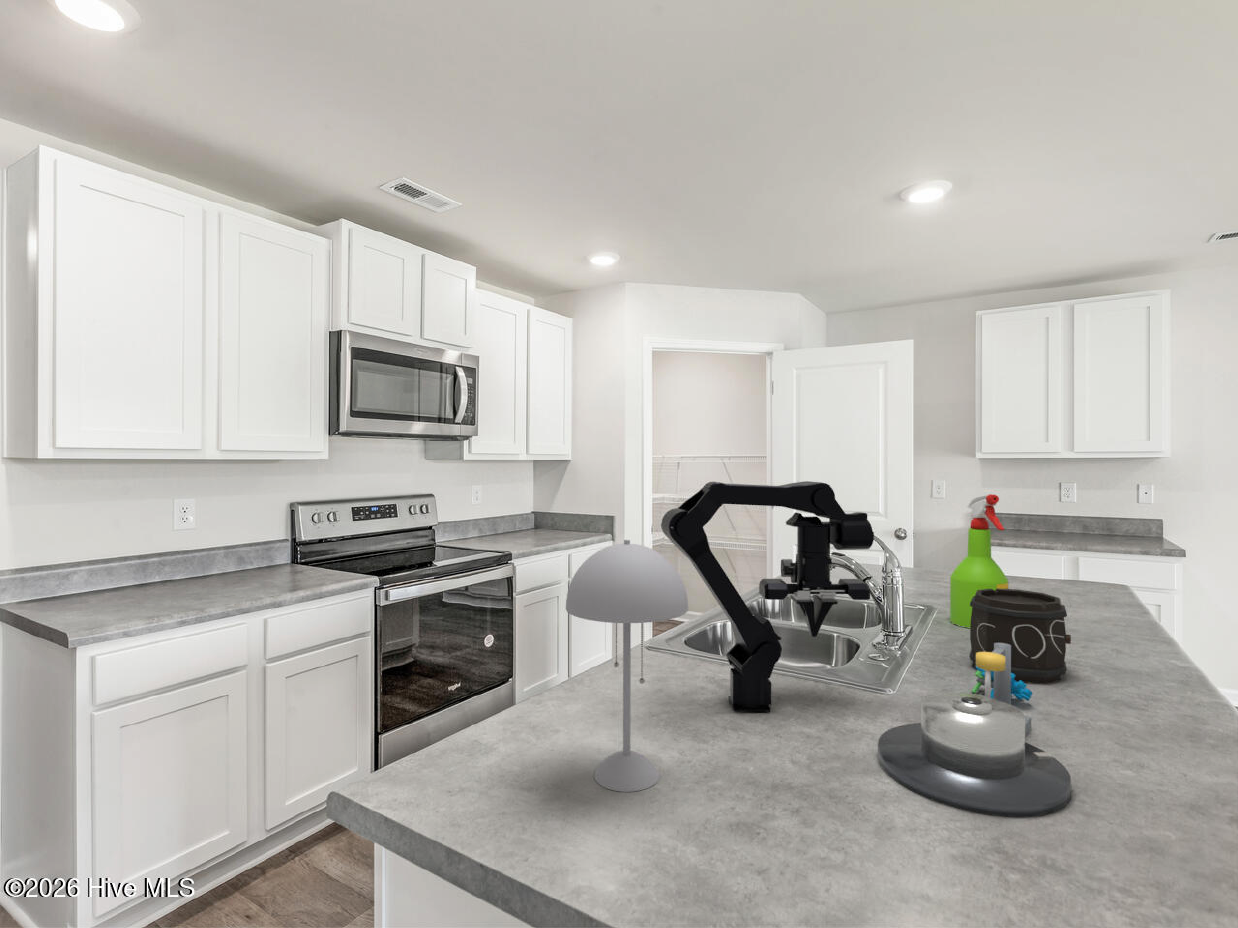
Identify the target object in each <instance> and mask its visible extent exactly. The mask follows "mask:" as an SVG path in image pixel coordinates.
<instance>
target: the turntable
mask: <svg viewBox="0 0 1238 928" xmlns="http://www.w3.org/2000/svg"><path fill="white" fill-rule="evenodd" d="M877 743H878V746H877V747H878V749H877V751H878V752H877V753H878V754H877V757H878V762H879V764H880V766H881V768H882V769H883V771H884V772H885V773H886V774H887V775H888V777H891V778H892V779H893V780H894V781H895V782H897V783H898V784H900V785H901V786H903V787H905V788H906V789H908V790H910V791H912V792H914V793H915V794H918V795H920V796H922V797H924V796H925V797H924V798H927V797H928V798H927V799H929V798H930V799H929V800H932V799H933V800H932V801H934V800H935V802H937V801H938V802H937V803H940V802H941V803H940V804H943V803H944V804H943V805H946V804H947V806H949V805H950V807H953V808H956V807H957V809H960V808H961V810H964V809H965V811H969V810H970V811H969V812H972V813H973V812H974V813H978V814H985V815H991V816H1002V817H1017V818H1018V817H1021V818H1022V817H1023V818H1024V817H1037V816H1044V815H1048V814H1052V813H1055V812H1058V811H1060V810H1062V809H1063V808H1065V807H1066V806H1067V805H1068V804H1069V802H1070V800H1071V787H1072V786H1071V783H1072V782H1071V779H1072V778H1071V775H1070V773H1069V771H1068V769H1067V768H1066V767H1065V765H1063V764H1062V763H1061V762H1060V761H1059V760H1058V759H1056V758H1055V757H1054V756H1053V755H1052V754H1050V753H1049V752H1046V751H1044V750H1043V749H1041V748H1039V747H1038V746H1034V745H1033V744H1030V743H1028V742H1026V741H1025V769H1024V772H1023V773H1022V774H1021V775H1020V776H1018V777H1015V778H1010V779H1002V780H993V779H981V778H975V777H970V776H965V775H961V774H958V773H955V772H952V771H949V770H946V769H944V768H942V767H940V766H938V765H936V764H934V763H932V762H931V761H929V760H928V759H927V758H926V757H925V756H924V755H923V754H922V752H921V722H916V723H915V722H913V723H908V724H907V723H906V724H901V725H896V726H895V727H892V728H889V729H888V730H886V731H884V732H883V733H882V734H881V735H880V737H879V739H878V741H877Z"/></svg>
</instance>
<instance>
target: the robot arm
mask: <svg viewBox="0 0 1238 928" xmlns="http://www.w3.org/2000/svg"><path fill="white" fill-rule="evenodd" d="M723 505H737V506H738V505H739V506H740V505H741V506H764V507H781V508H786V509H791V510H795V511H800V512H804V513H808V514H809V513H810V514H813V515H815V516H803V515H802V513H800V512H794V513H793V515H792V516H791V517H789V518H788V519H787V520H786V521H785V525H786V526H790V527H794V528H797V533H796V534H797V535H796V536H797V538H796V539H797V541H796V542H797V543H796V544H797V547H796V549H797V550H796V554H795V562H793V559H792V558H791V559H790V558H784V559H781V560H780V576H781V577H782V578H790V582H791V583H786V582H785V581H784V580H783V579H781V578H762V579H761V580H760V581H759V585H758V586H759V587H758V593H759V595H761V597H762V598H763V599H764V600H770V601H773V600H774V601H775V600H778V601H780V600H784V599H785V598H787V596H788V595H789V596H790V599H791V600H792V601H793V602H795V604H796V605H799V608H800V609H801V612H802V614H803V616H804V620H805V622H806V626H807V629H808V632H809V635H810V637H811V638H816V637H817V636H818V633H819V631H820V630H821V627H822V625H823V623H824V621H825V618H826V616H828V613H829V612H830V611H831V609H832V607H833V606H834V605H835V606H836V605H838V603H839V601H838V600H837V599H836V597H837V595H848V597H850V599H852V600H853V601H859V600H860V601H866V600H867V601H869V600H871V588H870V586H869V585H868V583H866V582H864V581H863V580H860V579H859V578H839V580H838V582H837V583H832V581H831V565H832V564H833V563H832V561H833V560H832V558H831V545H832V547H834V549H836V550H837V551H853V550H855V551H856V550H869V549H870V548H872V546H873V544H874V540H875V533H874V531H873V527H872V525H871V523H870V521H869V520H868V514H867V512H862V511H857V512H852V513H846V512H845V511H844V509H843V508H842V506H841V505H840V504H839V502H838V501H837V499H836V496H835V491H834V489H833V488H832V487H831V486H830V484H828V483H826V482H819V481H808V480H806V481H805V480H804V481H797V482H791V483H786V484H782V485H767V484H765V485H764V484H747V483H746V484H745V483H744V484H742V483H741V484H740V483H723V482H720V481H719V482H718V481H709V482H707V483H705V485H703V487H702V488H700V489H699V490H698V491H697V492H696V493H694V494H693V495H692V496H691V497H689V498H688V499H686V500H685V501H683V503H681V504H680V506H678V507H676V508H671V509H670V510H668V511H667V512H665V513H664V515H663V517H662V519H661V524H660V527H661V530H662V532H663V534H664V536H665V537H666V538H667V539H668V540H669V541H670V542H671V543H672V544H673V545H674V546H675V547H676V548H677V549H678V550H679V551H680V552H681V553H682V554H683V555H684V556H686V557H687V559H688V560H689V561H690V562H691V564H692V565H693V567H694V569H695V570H696V571H697V573H698V574H699V576H700V577H701V579H702V581H703V582H704V584H705V585H706V587H707V588H708V590H709V591H710V593H711V595H712V596H713V598H714V600H716V602H717V603H718V605H719V607H720V608H721V610H722V611H723V612H724V615H725V616H726V617H727V619H728V621H730V625H731V629H732V633H733V635H734V638H735V640H736V643H735V644H734V645H733V646H732V648H730V650H729V651H727V652H726V654H725V655H726V659H727V662H728V664H729V665H730V666H731V667H730V671H729V672H730V673H729V674H730V676H729V678H730V687H729V691H730V692H729V695H728V701H729V703H730V706H731V708H732V711H733V712H737V713H738V712H748V713H751V712H752V713H754V712H755V713H756V712H760V713H761V712H763V713H764V712H765V713H768V712H769V713H770V712H771V711H772V710H771V707H770V706H771V705H772V681H771V680H770V678H771V676H772V673H773V671H774V667H775V664H777V663H778V662H779V660H780V658H781V655H782V651H783V647H782V644H781V643H780V641H781V640H782V637H781V636H779V635H778V634H777V633H776V631H775V629H774V627H773V625H772V623H771V621H770V620H769V619H768V618H766V617H764V616H763V615H761V614H760V613H759V612H756V613H755V614H753V613H752V611H751V610H750V609H749V607H748V606H747V604H746V603H745V601H744V600H743V598H742V596H741V595H740V594H739V593H740V592H738V590H737V589H736V587H735V586H734V584H733V583H732V581H731V579H730V578H729V576H728V575H727V573H726V572H725V571H724V569H723V567H722V566H721V565H720V563H719V561H718V560H717V558H716V557H715V554H714V553H713V552H712V550H711V547H710V543H709V540H708V539H709V538H708V536H707V534H706V530H705V529H704V527H705V526H706V524H707V523H709V522H710V521H711V519H712V518H713V517H714V516H715V515H716V513H717V512H718V510H719V509H720V508H721V507H722V506H723ZM819 517H820V518H819ZM821 518H824V519H828V521H822V520H821ZM811 595H812V598H813V600H812V599H811Z"/></svg>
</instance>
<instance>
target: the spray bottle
mask: <svg viewBox="0 0 1238 928" xmlns="http://www.w3.org/2000/svg"><path fill="white" fill-rule="evenodd" d="M999 501H1000V497H999V496H998V495H996V494H992V493H991V494H984V495H979V496H976V497H974V498H973V499H971V501H969V503H968V505H967V508H969V509H971V518H972V519H971V521H970V528H968V533H967V534H968V537H967V538H968V539H967V555H966V556H965V558H964V559H962V561H960V563H958V565H957V566H956V567H955V569H954V570H953V572H952V573H951V574H950V583H949V584H950V585H949V587H950V595H949V598H950V599H949V600H950V602H949V605H950V606H949V607H950V608H949V616H950V617H949V622H950V621H951V622H952V623H954V624H957V625H960V626H964V627H969V628H970V622H971V614H972V607H971V606H970V603H971V600H972V598H973V596H975V594H976V592H977V590H983V589H993V590H994V591H995V590H996V589H1009V580H1008V578H1007V576H1006V575H1005V573H1004V571H1003V570H1002V569H1001V567H1000V566H999V564H997V562H996V561H995V560H994V558H993V557H992V535H991V534H992V533H991V532H992V531H991V530H992V529H990V527H989V526H990V524H989V521H990V522H991V523H992V524H993V526H994V527H995V528H996V529H997V530H999V531H1005V528H1004V526H1003V524H1002V523H1001V522H1000V519H999V518H998V516H996V509H995V506H997V503H999ZM987 519H988V520H989V521H988V520H987ZM951 622H950V623H951ZM952 623H951V624H952ZM954 624H953V625H954Z"/></svg>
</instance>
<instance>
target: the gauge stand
mask: <svg viewBox="0 0 1238 928" xmlns="http://www.w3.org/2000/svg"><path fill="white" fill-rule="evenodd" d="M976 666H977V667H978V668H981V669H984V670H985V686H984V696H986V697H990V698H991V690H992V688H991V671H994V699H997V700H1000V701H1003V702H1005V703H1008V704H1010V705H1011V704H1012V703H1011V699H1012V697H1011V696H1012V695H1011V645H1009V644H1006V643H994V651H992V652H977V653H976ZM1031 731H1032V717H1031V716H1028V715H1025V738H1027V736H1028V735H1029V733H1030V732H1031Z"/></svg>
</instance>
